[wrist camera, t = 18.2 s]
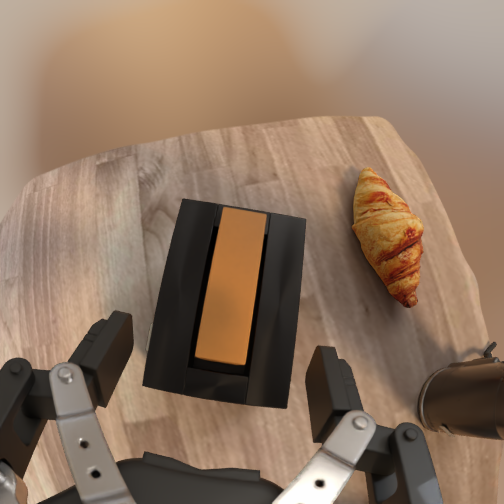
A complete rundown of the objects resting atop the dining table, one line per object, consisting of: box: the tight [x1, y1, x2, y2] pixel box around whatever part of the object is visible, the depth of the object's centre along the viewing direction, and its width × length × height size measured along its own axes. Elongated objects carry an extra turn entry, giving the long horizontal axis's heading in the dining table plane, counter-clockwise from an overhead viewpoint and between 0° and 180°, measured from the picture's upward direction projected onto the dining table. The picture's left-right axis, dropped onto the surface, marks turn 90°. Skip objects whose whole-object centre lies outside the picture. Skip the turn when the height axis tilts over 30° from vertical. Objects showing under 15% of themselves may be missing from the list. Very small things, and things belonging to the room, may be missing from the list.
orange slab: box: [195, 207, 267, 365], centre depth 24 cm, size 3×10×10 cm, turn 172°
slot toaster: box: [142, 199, 306, 409], centre depth 29 cm, size 12×16×12 cm
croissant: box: [352, 167, 424, 308], centre depth 38 cm, size 21×10×8 cm, turn 10°
